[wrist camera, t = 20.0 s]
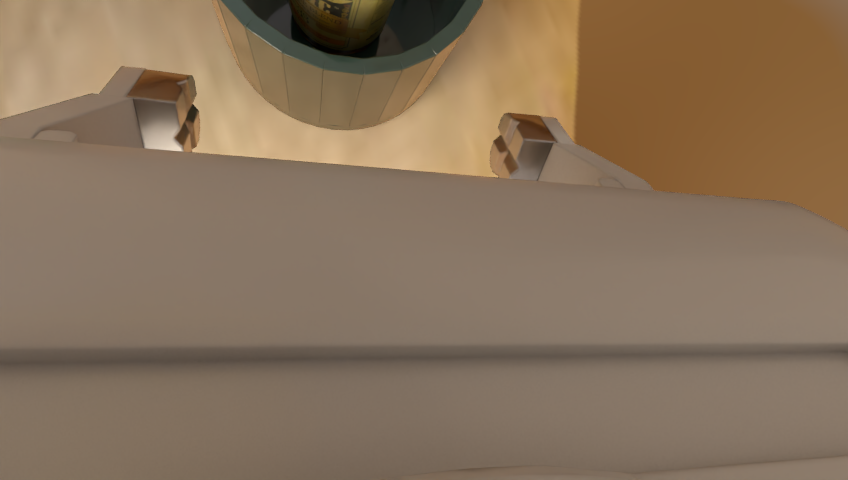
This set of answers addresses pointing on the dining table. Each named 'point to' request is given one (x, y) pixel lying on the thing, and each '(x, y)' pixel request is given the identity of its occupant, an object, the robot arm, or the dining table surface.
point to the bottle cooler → (343, 60)
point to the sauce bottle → (340, 23)
